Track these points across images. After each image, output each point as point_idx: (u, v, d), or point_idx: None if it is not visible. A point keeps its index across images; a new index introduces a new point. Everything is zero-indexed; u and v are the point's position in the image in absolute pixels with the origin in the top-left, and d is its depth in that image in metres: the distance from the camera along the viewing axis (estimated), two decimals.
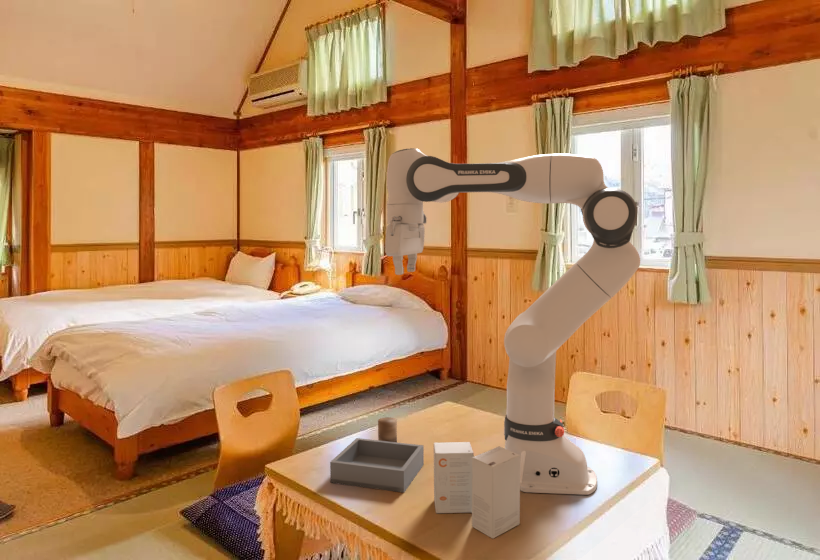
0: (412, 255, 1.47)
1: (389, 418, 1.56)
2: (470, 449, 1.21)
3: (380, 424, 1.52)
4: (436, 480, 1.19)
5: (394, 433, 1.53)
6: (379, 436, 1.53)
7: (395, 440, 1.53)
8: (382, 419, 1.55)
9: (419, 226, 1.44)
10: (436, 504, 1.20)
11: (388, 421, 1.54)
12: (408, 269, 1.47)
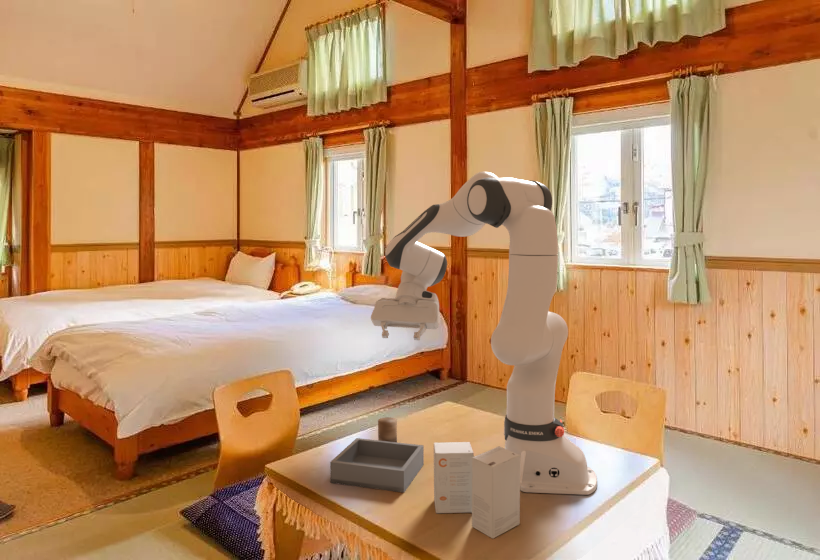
0: None
1: (389, 418, 1.56)
2: (470, 449, 1.21)
3: (380, 424, 1.52)
4: (436, 480, 1.19)
5: (394, 433, 1.53)
6: (379, 436, 1.53)
7: (395, 440, 1.53)
8: (382, 419, 1.55)
9: (418, 300, 1.68)
10: (436, 504, 1.20)
11: (388, 421, 1.54)
12: None
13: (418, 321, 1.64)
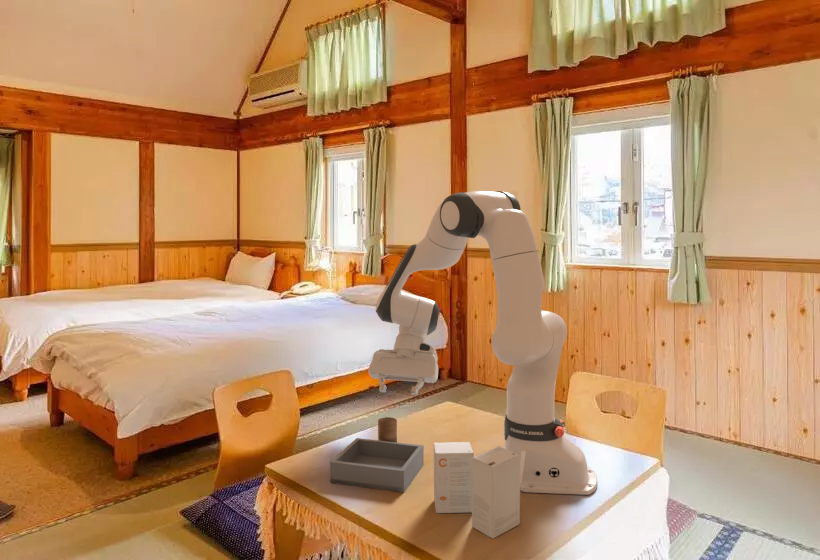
0: None
1: (389, 418, 1.56)
2: (470, 449, 1.21)
3: (380, 424, 1.52)
4: (436, 480, 1.19)
5: (394, 433, 1.53)
6: (379, 436, 1.53)
7: (395, 440, 1.53)
8: (382, 419, 1.55)
9: (415, 353, 1.66)
10: (436, 504, 1.20)
11: (388, 421, 1.54)
12: None
13: (416, 375, 1.62)
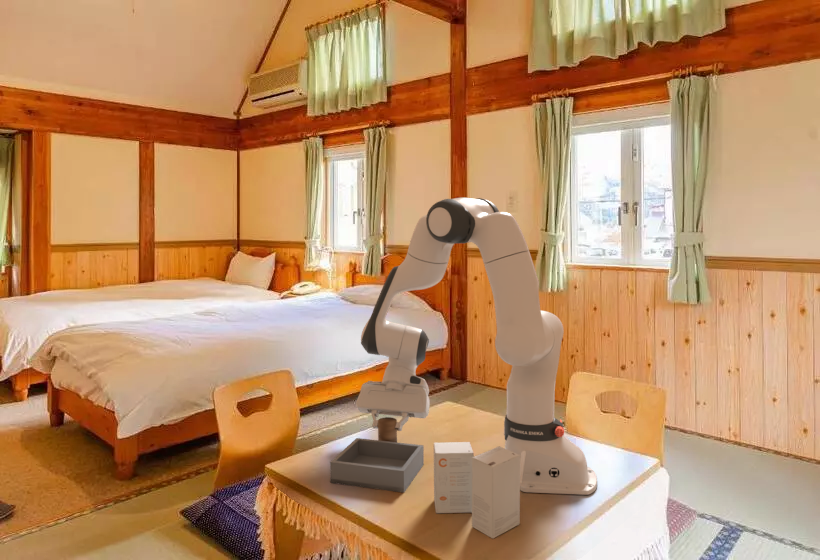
0: None
1: (389, 418, 1.56)
2: (470, 449, 1.21)
3: (380, 424, 1.52)
4: (436, 480, 1.19)
5: (394, 433, 1.53)
6: (379, 436, 1.53)
7: (395, 440, 1.53)
8: (382, 419, 1.55)
9: (405, 386, 1.58)
10: (436, 504, 1.20)
11: (388, 421, 1.54)
12: None
13: (405, 410, 1.54)
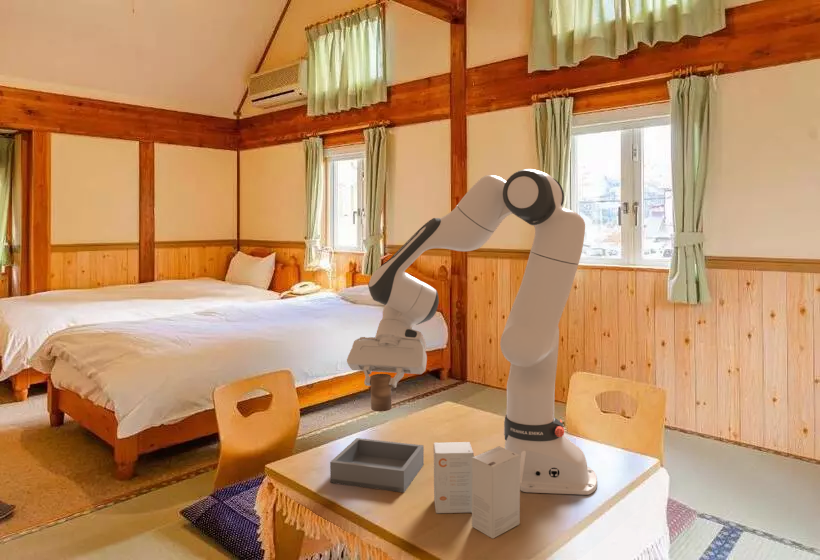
0: None
1: (383, 374, 1.43)
2: (470, 449, 1.21)
3: (372, 380, 1.39)
4: (436, 480, 1.19)
5: (388, 390, 1.40)
6: (372, 393, 1.40)
7: (389, 397, 1.40)
8: (375, 375, 1.42)
9: (400, 340, 1.45)
10: (436, 504, 1.20)
11: (382, 376, 1.41)
12: None
13: (400, 365, 1.41)
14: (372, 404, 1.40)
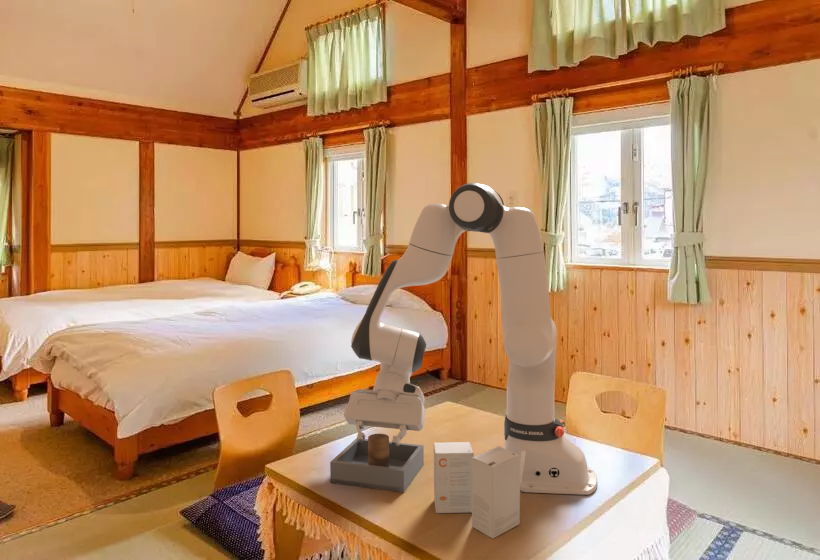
0: None
1: (380, 435, 1.40)
2: (470, 449, 1.21)
3: (370, 442, 1.37)
4: (436, 480, 1.19)
5: (386, 452, 1.38)
6: (369, 455, 1.38)
7: (387, 459, 1.38)
8: (373, 436, 1.40)
9: (398, 395, 1.42)
10: (436, 504, 1.20)
11: (380, 438, 1.38)
12: None
13: (398, 422, 1.39)
14: None
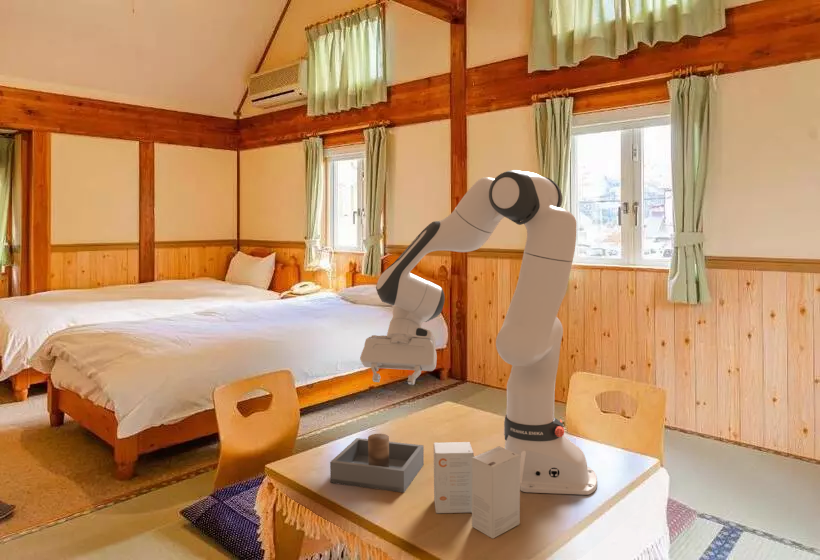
0: None
1: (380, 434, 1.40)
2: (470, 449, 1.21)
3: (370, 442, 1.37)
4: (436, 480, 1.19)
5: (386, 452, 1.38)
6: (369, 455, 1.38)
7: (387, 459, 1.38)
8: (373, 436, 1.40)
9: (411, 339, 1.52)
10: (436, 504, 1.20)
11: (380, 438, 1.38)
12: None
13: (412, 363, 1.48)
14: None
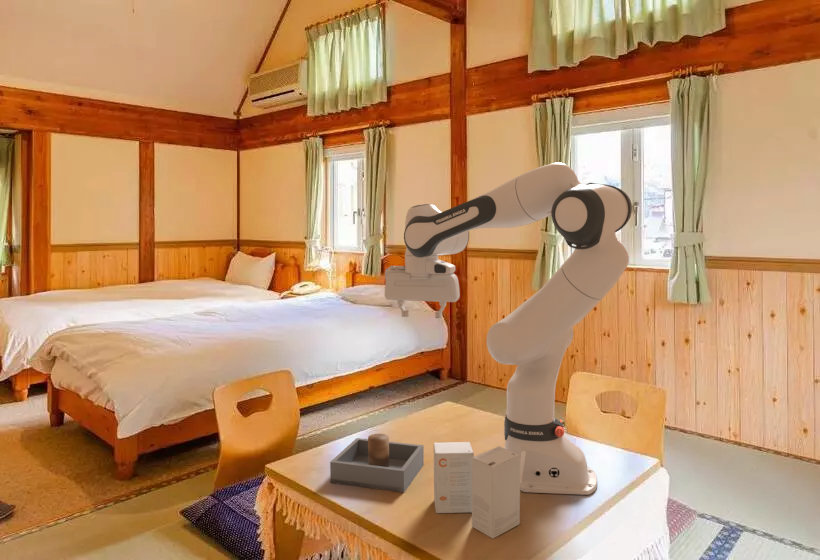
0: None
1: (380, 435, 1.40)
2: (470, 449, 1.21)
3: (370, 442, 1.37)
4: (436, 480, 1.19)
5: (386, 452, 1.38)
6: (369, 455, 1.38)
7: (387, 459, 1.38)
8: (373, 436, 1.40)
9: (431, 276, 1.50)
10: (436, 504, 1.20)
11: (380, 438, 1.38)
12: None
13: (437, 300, 1.52)
14: None
